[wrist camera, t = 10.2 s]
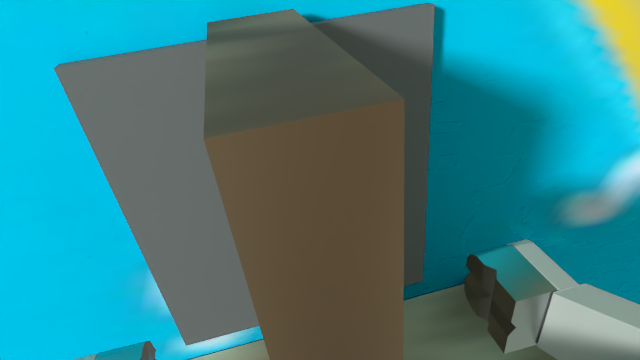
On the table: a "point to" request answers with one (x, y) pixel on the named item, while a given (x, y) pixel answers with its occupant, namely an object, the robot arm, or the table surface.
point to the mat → (195, 167)
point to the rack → (426, 333)
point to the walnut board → (309, 186)
